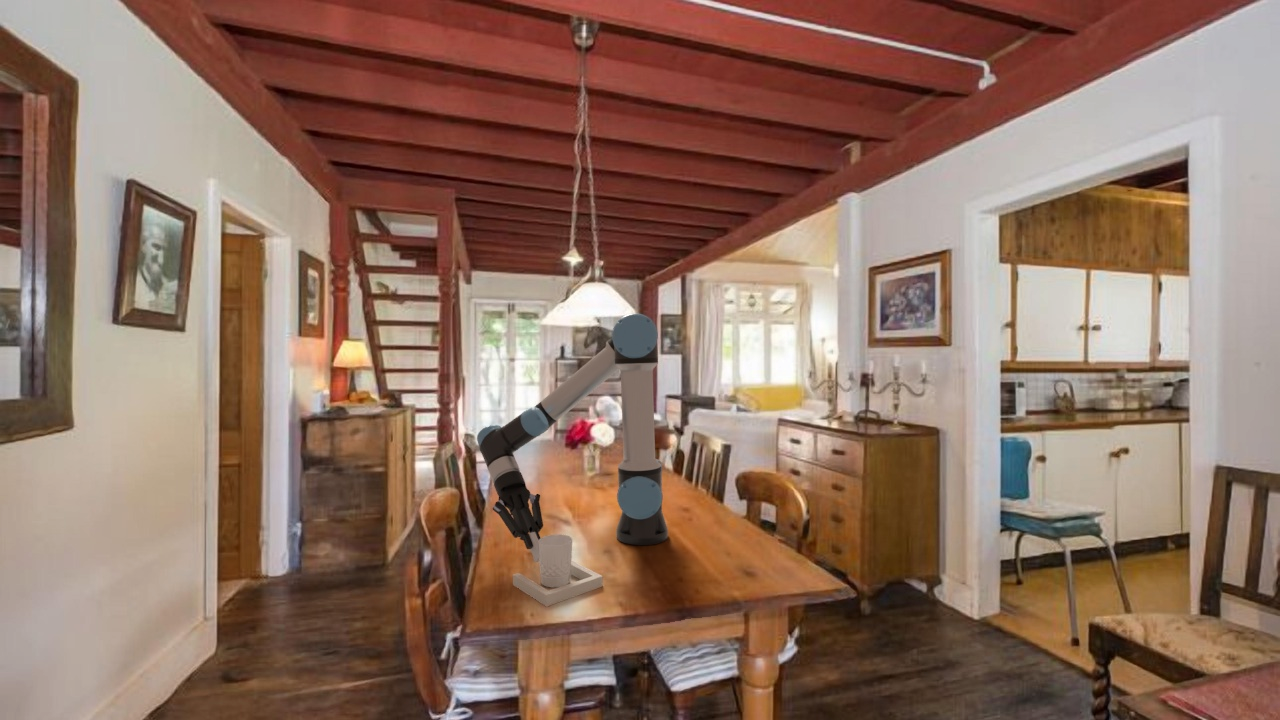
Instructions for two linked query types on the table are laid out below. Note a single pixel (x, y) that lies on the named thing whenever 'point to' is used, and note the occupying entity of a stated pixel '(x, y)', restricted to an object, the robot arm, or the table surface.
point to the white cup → (555, 559)
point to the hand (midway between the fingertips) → (540, 558)
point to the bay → (547, 598)
